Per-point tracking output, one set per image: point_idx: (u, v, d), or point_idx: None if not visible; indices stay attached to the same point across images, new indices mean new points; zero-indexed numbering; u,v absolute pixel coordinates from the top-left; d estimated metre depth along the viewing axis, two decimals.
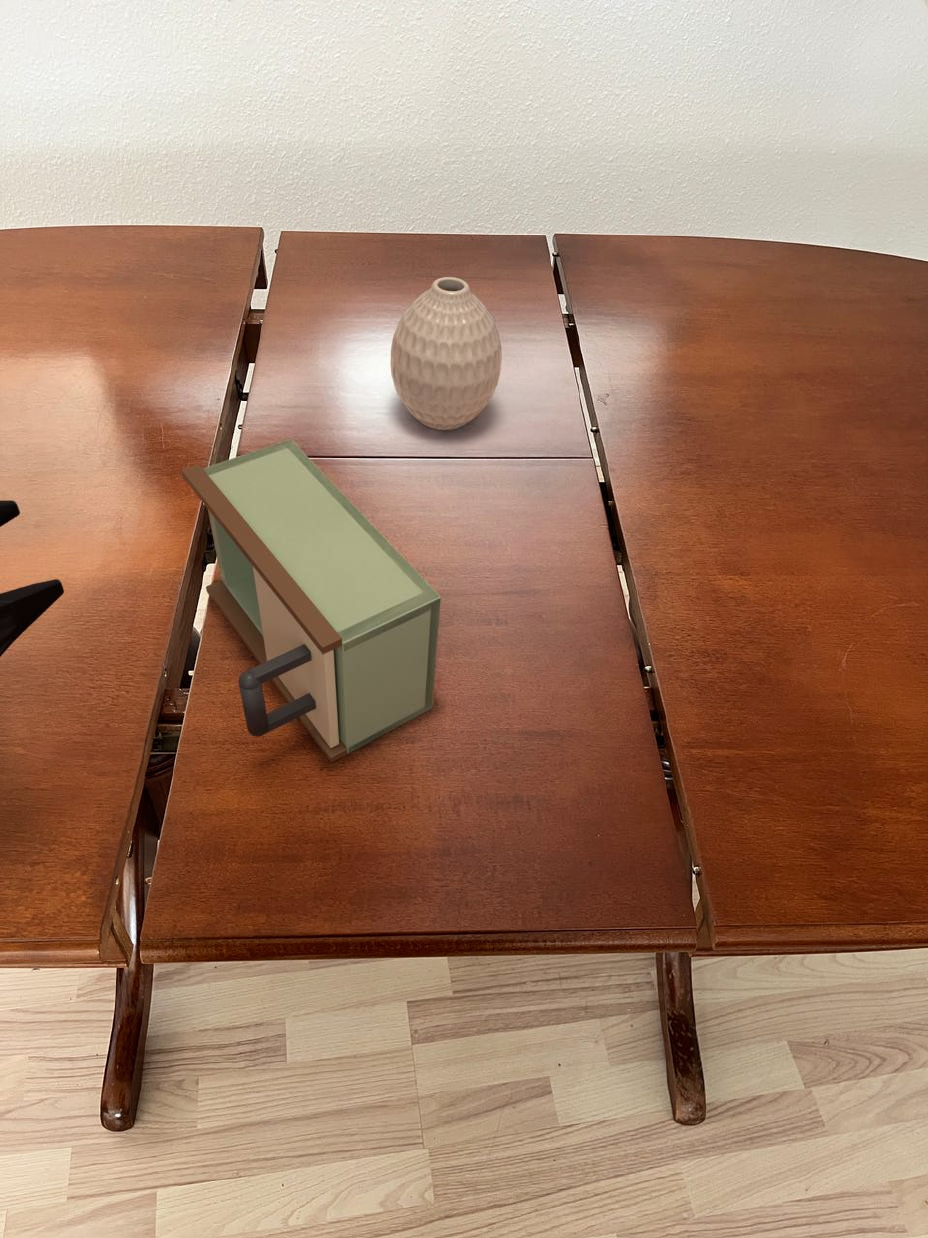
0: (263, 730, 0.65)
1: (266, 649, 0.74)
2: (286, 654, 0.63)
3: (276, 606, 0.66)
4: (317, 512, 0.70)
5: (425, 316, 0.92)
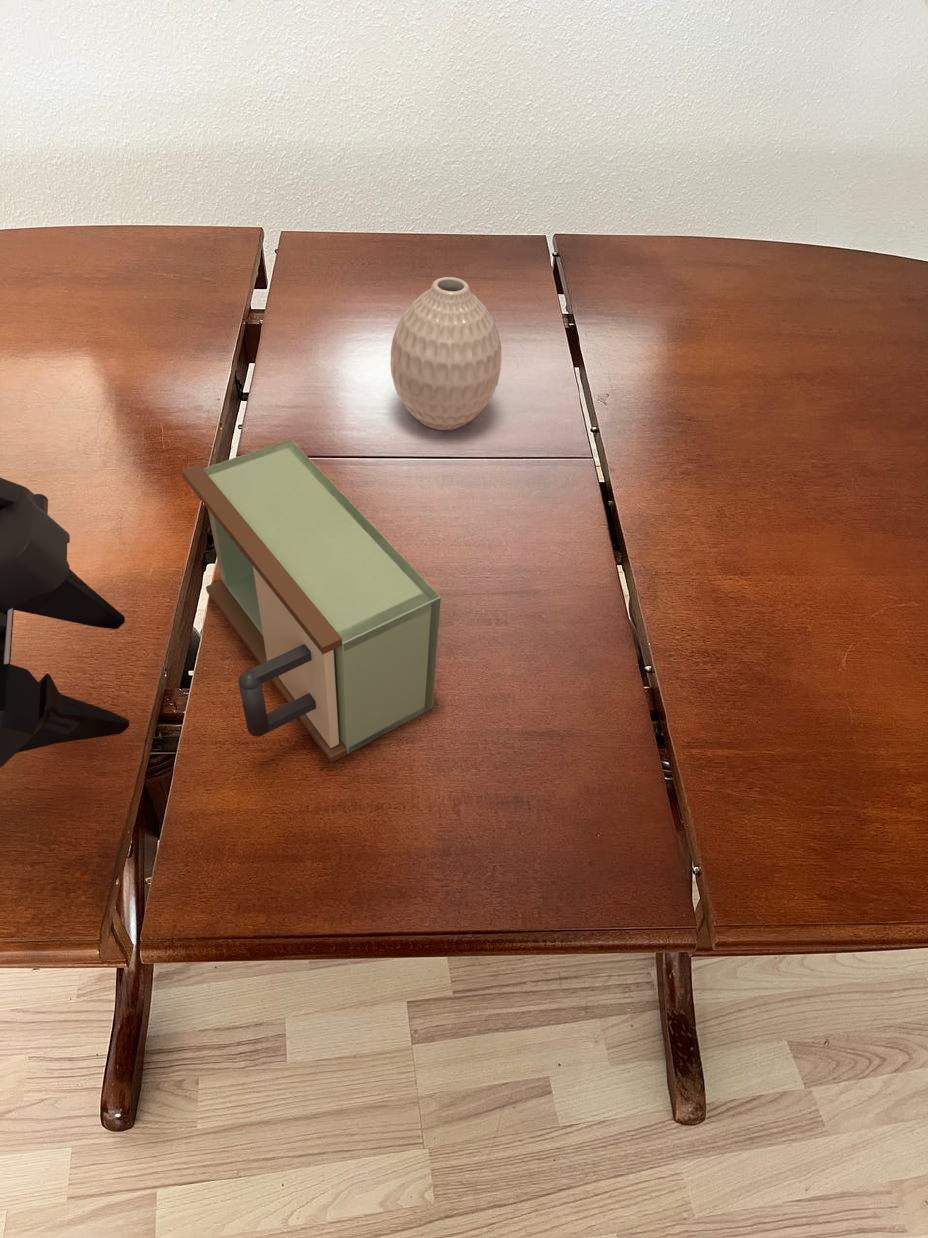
0: (263, 730, 0.65)
1: (266, 649, 0.74)
2: (286, 654, 0.63)
3: (276, 606, 0.66)
4: (317, 512, 0.70)
5: (425, 316, 0.92)
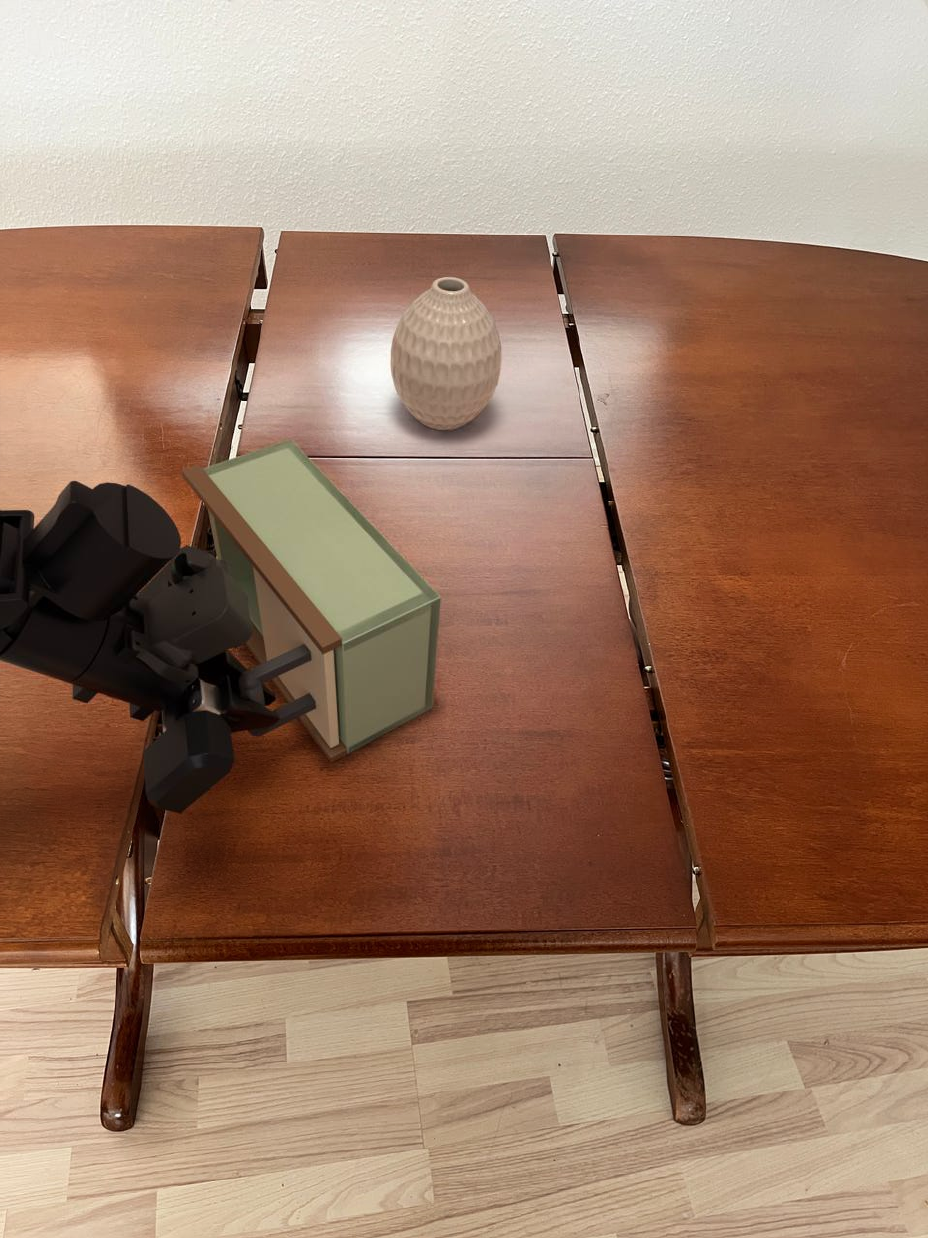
0: (263, 730, 0.65)
1: (266, 649, 0.74)
2: (286, 654, 0.63)
3: (276, 606, 0.66)
4: (317, 512, 0.70)
5: (425, 316, 0.92)
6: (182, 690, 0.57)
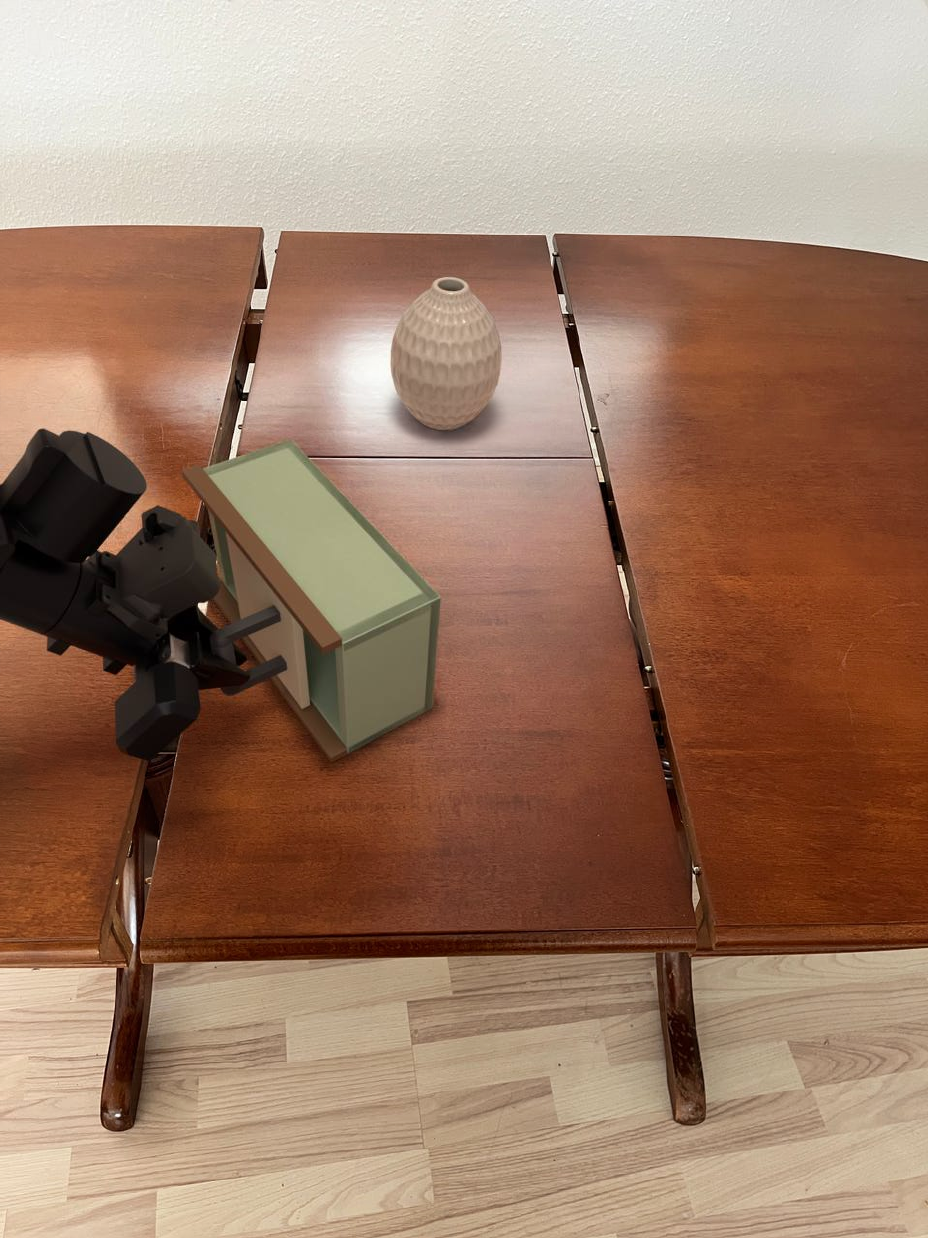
0: (235, 689, 0.68)
1: (241, 615, 0.76)
2: (256, 614, 0.65)
3: (247, 570, 0.69)
4: (317, 512, 0.70)
5: (425, 316, 0.92)
6: (153, 644, 0.59)
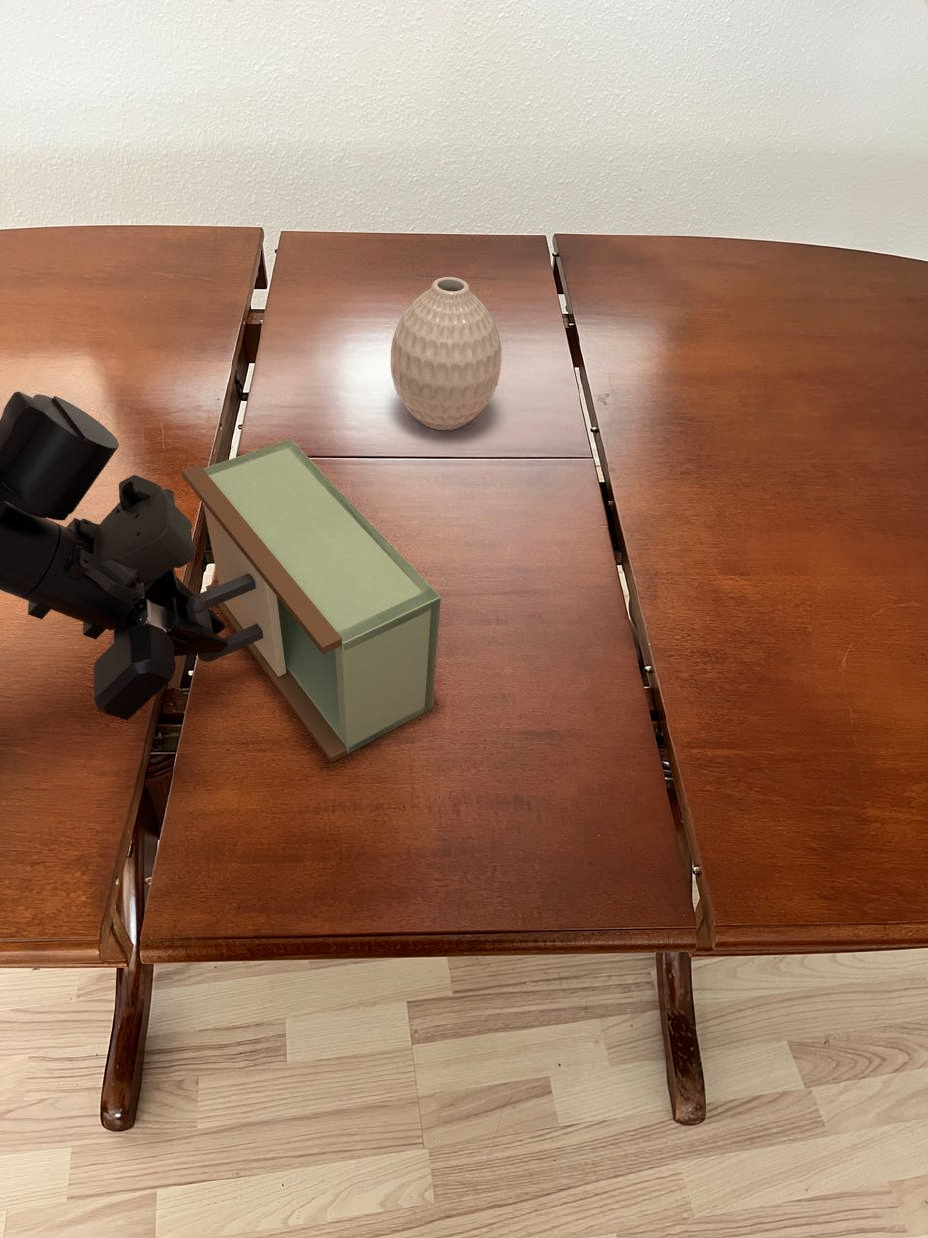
0: (212, 655, 0.70)
1: None
2: (231, 581, 0.68)
3: (224, 540, 0.71)
4: (317, 512, 0.70)
5: (425, 316, 0.92)
6: (130, 609, 0.61)
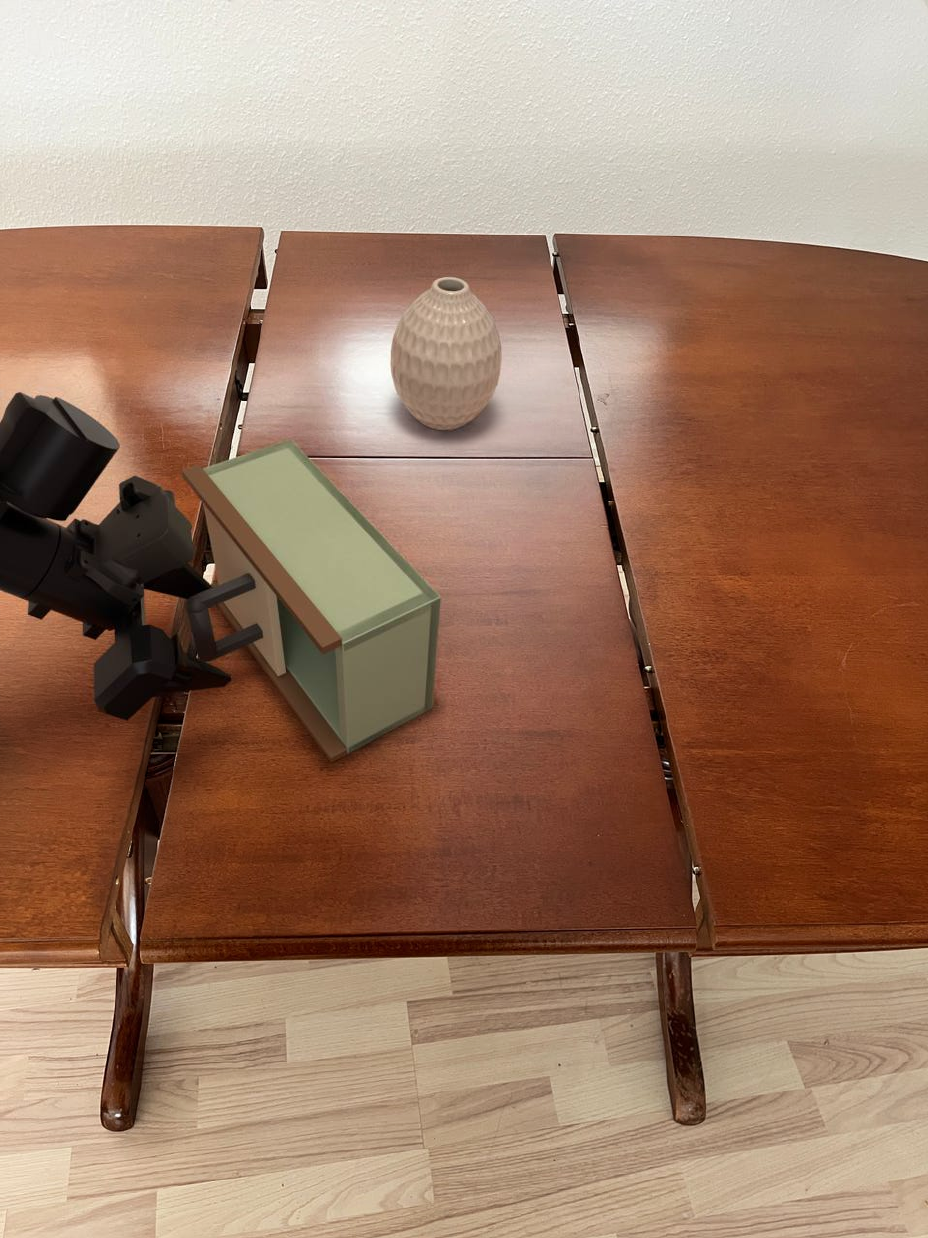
0: (212, 655, 0.70)
1: None
2: (231, 581, 0.68)
3: (224, 540, 0.71)
4: (317, 512, 0.70)
5: (425, 316, 0.92)
6: (130, 609, 0.62)
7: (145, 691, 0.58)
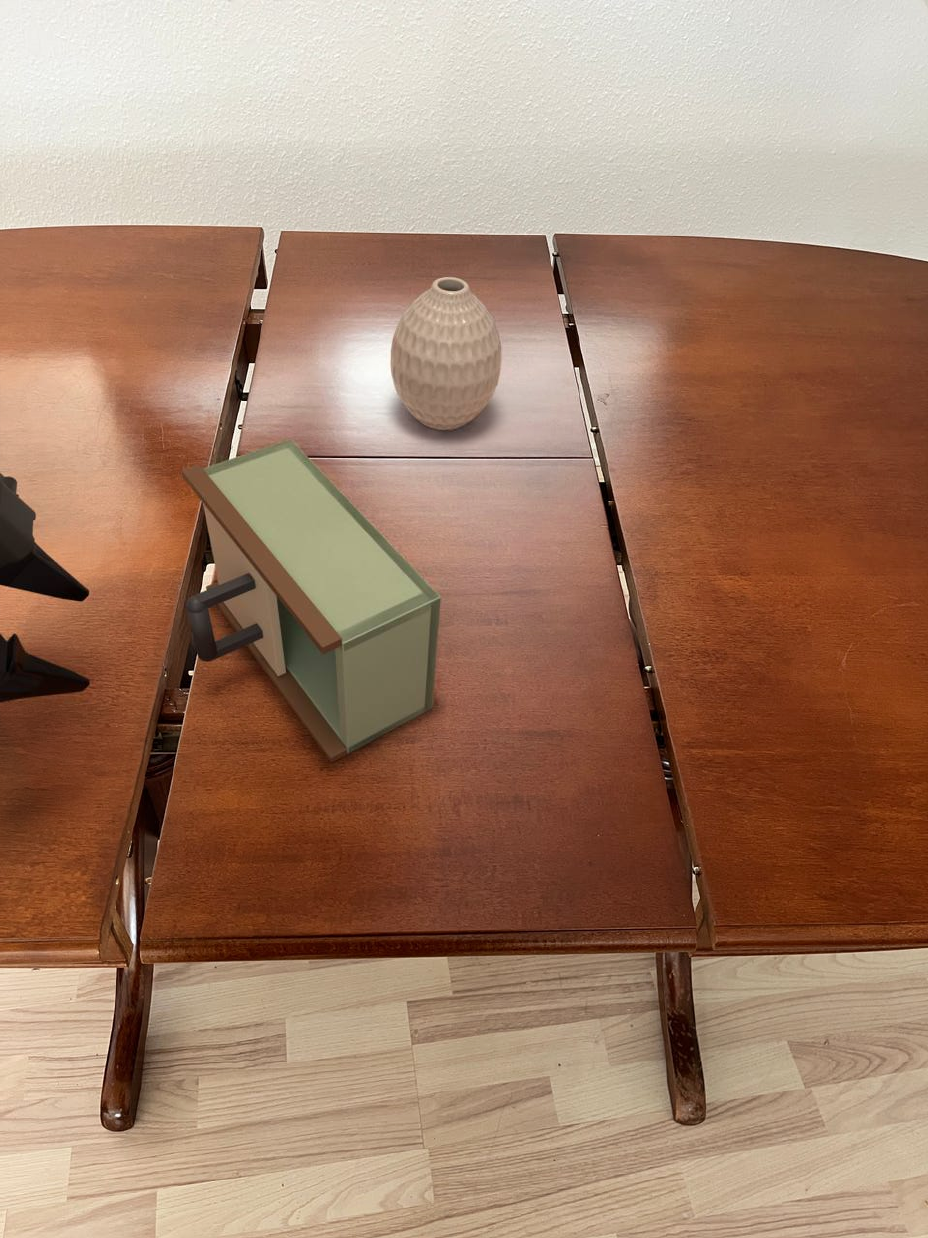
0: (212, 655, 0.70)
1: None
2: (231, 581, 0.68)
3: (224, 540, 0.71)
4: (317, 512, 0.70)
5: (425, 316, 0.92)
6: None
7: None
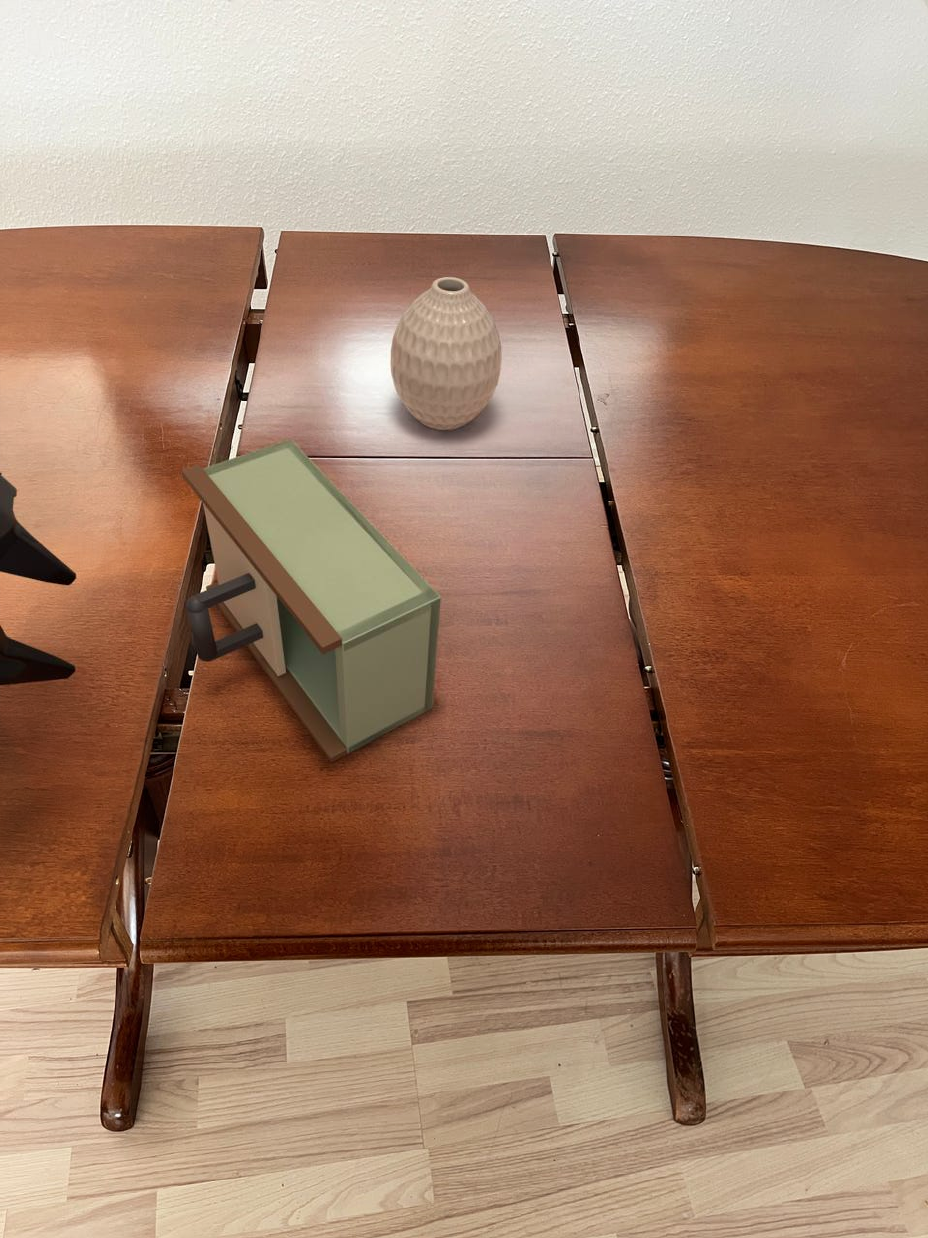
0: (212, 655, 0.70)
1: None
2: (231, 581, 0.68)
3: (224, 540, 0.71)
4: (317, 512, 0.70)
5: (425, 316, 0.92)
6: None
7: None
